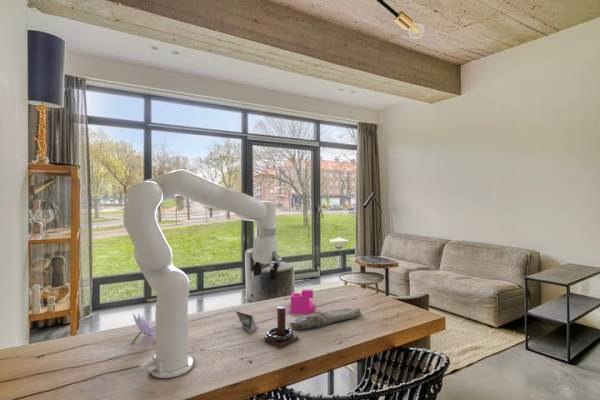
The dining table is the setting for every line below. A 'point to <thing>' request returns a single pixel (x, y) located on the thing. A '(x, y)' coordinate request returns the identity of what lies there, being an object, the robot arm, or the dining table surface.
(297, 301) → the bracket
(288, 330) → the hoop
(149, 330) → the water lily
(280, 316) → the peg stand
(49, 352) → the dining table surface
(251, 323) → the paper boat
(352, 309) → the long grey stone
